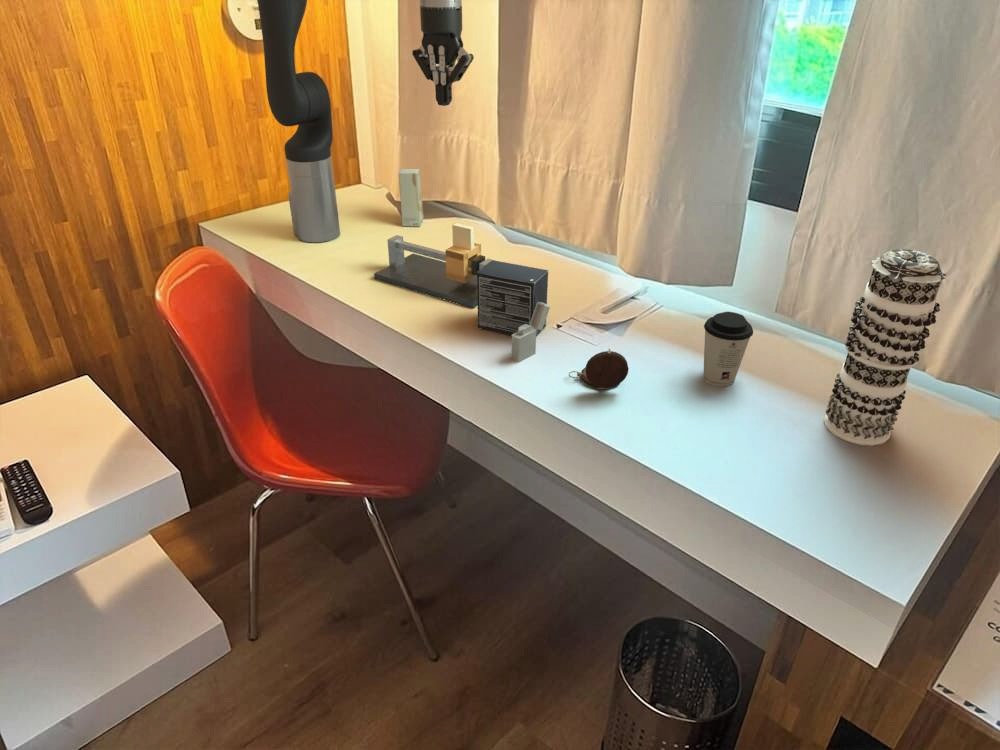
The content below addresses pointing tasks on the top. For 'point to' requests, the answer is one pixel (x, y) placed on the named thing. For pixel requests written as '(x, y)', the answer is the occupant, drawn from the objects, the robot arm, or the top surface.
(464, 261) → the orange slider carriage
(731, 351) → the coffee cup
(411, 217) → the skincare box
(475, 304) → the linear slide rail
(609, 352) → the compass
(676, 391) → the top surface
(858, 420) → the decorative candle
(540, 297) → the small box
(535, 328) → the lighter
